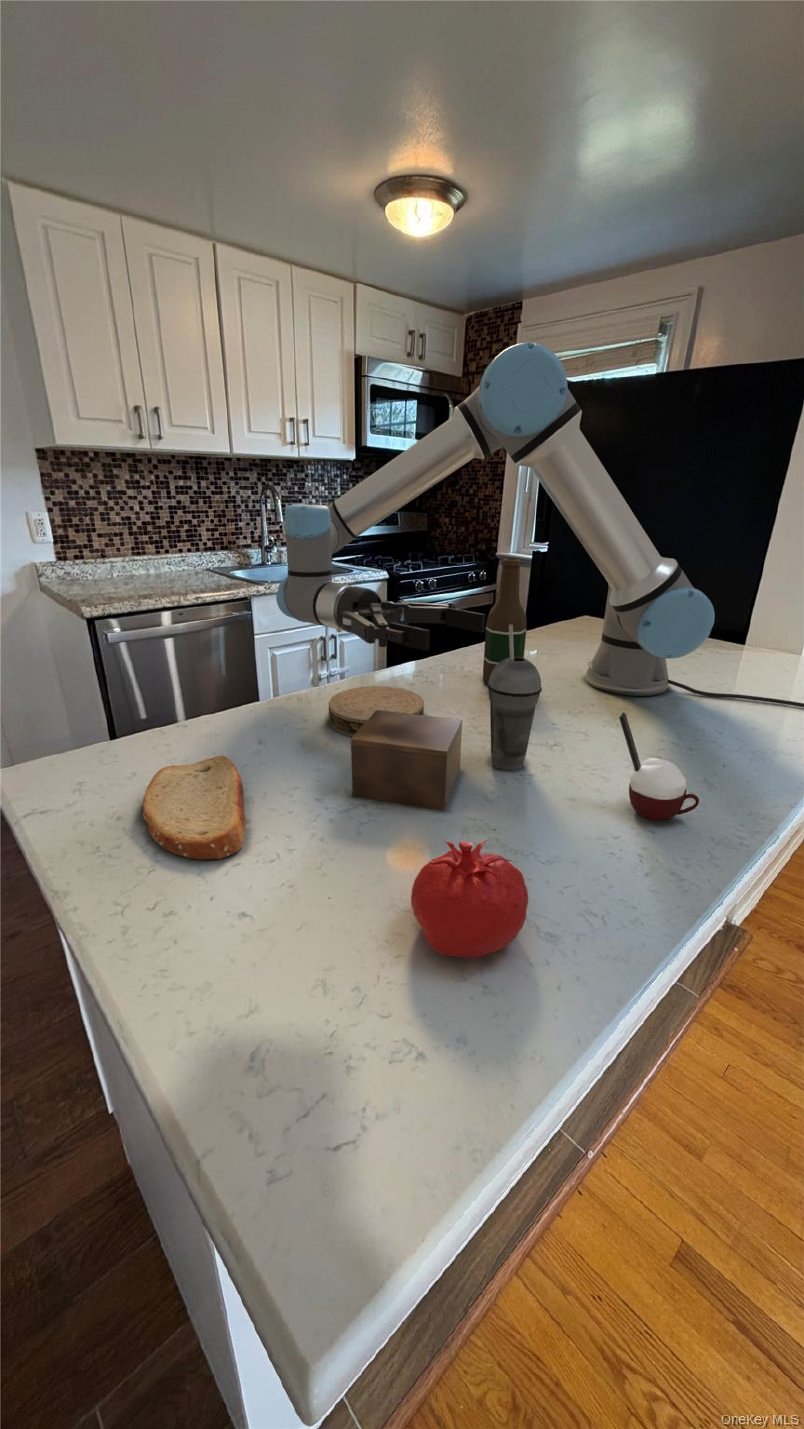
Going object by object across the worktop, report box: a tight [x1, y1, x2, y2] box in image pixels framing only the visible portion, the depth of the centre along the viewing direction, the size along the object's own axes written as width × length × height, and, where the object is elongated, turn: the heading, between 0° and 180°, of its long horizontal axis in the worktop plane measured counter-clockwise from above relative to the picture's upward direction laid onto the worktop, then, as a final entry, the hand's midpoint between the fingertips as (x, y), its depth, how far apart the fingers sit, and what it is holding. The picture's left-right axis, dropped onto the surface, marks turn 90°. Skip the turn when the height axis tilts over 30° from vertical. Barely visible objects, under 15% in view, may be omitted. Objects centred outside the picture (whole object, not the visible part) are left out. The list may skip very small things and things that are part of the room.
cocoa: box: [618, 711, 700, 822], centre depth 67 cm, size 10×6×12 cm, turn 38°
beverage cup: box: [487, 625, 543, 771], centre depth 77 cm, size 7×7×20 cm
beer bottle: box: [482, 557, 528, 684], centre depth 110 cm, size 8×8×24 cm
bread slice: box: [142, 754, 246, 860], centre depth 68 cm, size 18×18×4 cm
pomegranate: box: [410, 839, 529, 959], centre depth 49 cm, size 10×10×9 cm
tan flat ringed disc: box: [327, 685, 425, 737], centre depth 95 cm, size 16×16×3 cm
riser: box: [350, 710, 463, 811], centre depth 73 cm, size 12×10×8 cm
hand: (457, 631), depth 80 cm, fingers open, 13 cm apart
